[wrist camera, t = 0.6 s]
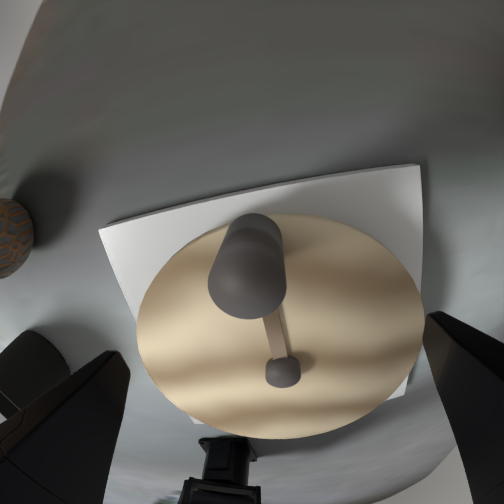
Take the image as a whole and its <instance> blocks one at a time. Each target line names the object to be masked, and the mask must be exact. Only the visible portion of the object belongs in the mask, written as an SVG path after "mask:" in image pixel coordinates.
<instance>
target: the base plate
mask: <svg viewBox="0 0 504 504" xmlns="http://www.w3.org/2000/svg"><path fill="white" fill-rule="evenodd" d="M249 213H258V214H262V215H266V214H274V213H300V214H308V215H314V216H321V217H326V218H329V219H333V220H336V221H340V222H343V223H346V224H348V225H351V226H353V227H355V228H357V229H359V230H361V231H363V232H365V233H367V234H368V235H370V236H371V237H373V238H374V239H376V240H377V241H379V242H380V243H382V244H383V245H384V246H385V247H386V248H387V249H388V250H389V251H390V252H391V253H392V254H393V255H395V257H396V258H397V259H398V260H399V261H400V262H401V263H402V264H403V266H404V267H405V269H406V270H407V271H408V273H409V274H410V275H411V277H412V278H413V280H414V282H415V284H416V287H417V289H418V291H419V293H420V292H421V278H422V258H423V208H422V188H421V174H420V165H416V164H413V163H410V164H401V165H392V166H384V167H376V168H369V169H362V170H355V171H348V172H341V173H335V174H329V175H322V176H316V177H310V178H305V179H299V180H293V181H288V182H283V183H277V184H272V185H267V186H262V187H257V188H252V189H247V190H242V191H238V192H233V193H228V194H224V195H219V196H215V197H211V198H206V199H202V200H198V201H193V202H189V203H185V204H181V205H177V206H173V207H169V208H165V209H161V210H157V211H154V212H150V213H146V214H142V215H139V216H135V217H131V218H128V219H124V220H121V221H117V222H114V223H110V224H107V225H105V226H103V227H102V228H100V229H99V230H98V231H99V234H100V236H101V239H102V242H103V245H104V247H105V250H106V253H107V255H108V258H109V260H110V263H111V265H112V268H113V270H114V273H115V275H116V278H117V280H118V282H119V285H120V287H121V289H122V292H123V294H124V296H125V298H126V301H127V303H128V305H129V307H130V309H131V311H132V314H133V316H134V318H135V320H136V322H137V319H138V313H139V308H140V305H141V303H142V300H143V298H144V295H145V293H146V291H147V289H148V288H149V286H150V284H151V283H152V281H153V279H154V278H155V276H156V275H157V274H158V272H159V271H160V270H161V268H162V267H163V266H164V265H165V264H166V263H167V261H168V260H169V259H170V258H171V257H172V256H173V255H174V254H175V253H176V252H178V251H179V250H180V249H181V248H182V247H184V246H185V245H186V244H187V243H188V242H190V241H192V240H193V239H195V238H197V237H198V236H200V235H202V234H203V233H205V232H207V231H209V230H211V229H214V228H216V227H219V226H221V225H223V224H226V223H228V222H232V221H234V220H235V219H236V218H238V217H240V216H242V215H244V214H249ZM408 375H409V374H408ZM407 380H408V376H407V377H406V378H405V380H404V381H403V382H402V384H401V385H400V386H399V387H398V389H397V390H396V391H395V392H394V393H393V394H392V395H391V396H390V397H389V398H388V399H386V400H389V399H393V398H396V397H400V396H403V395H404V393H405V389H406V385H407ZM189 416H190V415H189ZM190 418H191V419H192V421H193V422H194V424H205V423H202V422H200V421H199V420H197V419H195V418H193V417H191V416H190Z"/></svg>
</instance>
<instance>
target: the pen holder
mask: <svg viewBox="0 0 504 504" xmlns="http://www.w3.org/2000/svg"><path fill="white" fill-rule="evenodd" d="M68 377H69V369H68V366H67V364H66V362H65V360H64V358H63V357H62V356H61V354H60V353H59V352H58V350H57V349H56V348H55V347H54V346H53V345H52V344H51V343H50V342H49V341H47V340H46V339H45V338H43V337H42V336H40V335H39V334H37V333H34V332H27V331H26V332H23V333H21V334H20V335H19V336H18V337H17V338H16V339H15V340H14V341H13V342H12V343H10V344H9V345H8V346H7V347H6V348H5V349H4V350H3V351H2V352H1V353H0V413H1V414H2V415H3V416H4V417H5V418H6V419H9V418H10V417H12V416H13V415H15V414H16V413H18V412H19V411H21V410H22V409H23V408H25V407H27V406H28V405H29V404H31V403H32V402H34V401H35V400H36V399H38V398H39V397H41V396H42V395H43V394H45V393H46V392H48V391H49V390H51V389H52V388H53V387H55V386H56V385H58V384H59V383H61V382H62V381H63V380H65V379H66V378H68Z"/></svg>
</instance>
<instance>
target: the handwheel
mask: <svg viewBox="0 0 504 504" xmlns="http://www.w3.org/2000/svg"><path fill="white" fill-rule="evenodd" d="M424 325H425V320H424V308H423V304H422V300H421V297H420V293H419V291H418V289H417V287H416V284H415V282H414V280H413V278H412V277H411V275H410V274H409V273H408V271H407V270H406V269H405V267H404V266H403V264H402V263H401V262H400V261H399V260H398V259H397V258H396V257H395V255H393V254H392V253H391V252H390V251H389V250H388V249H387V248H386V247H385V246H384V245H383V244H382V243H380V242H379V241H377V240H376V239H374V238H373V237H371V236H370V235H368V234H367V233H365V232H363V231H361V230H359V229H357V228H355V227H353V226H351V225H348V224H346V223H343V222H340V221H336V220H333V219H329V218H326V217H321V216H314V215H308V214H300V213H274V214H266V215H262V214H258V213H249V214H244V215H242V216H240V217H238V218H236V219H235V220H234V221H232V222H228V223H226V224H223V225H221V226H219V227H216V228H214V229H211V230H209V231H207V232H205V233H203V234H202V235H200V236H198V237H197V238H195V239H193V240H192V241H190V242H188V243H187V244H186V245H185V246H184V247H182V248H181V249H180V250H179V251H178V252H176V253H175V254H174V255H173V256H172V257H171V258H170V259H169V260H168V261H167V263H166V264H165V265H164V266H163V267H162V268H161V270H160V271H159V272H158V274H157V275H156V276H155V278H154V279H153V281H152V283H151V284H150V286H149V288H148V289H147V291H146V293H145V295H144V298H143V300H142V303H141V305H140V308H139V313H138V319H137V342H138V348H139V352H140V355H141V358H142V361H143V364H144V366H145V368H146V370H147V372H148V374H149V376H150V377H151V379H152V380H153V382H154V383H155V385H156V386H157V387H158V389H159V390H160V391H161V392H162V393H163V394H164V395H165V396H166V397H167V398H168V399H169V400H170V401H171V402H172V403H173V404H174V405H176V406H177V407H178V408H180V409H181V410H182V411H184V412H185V413H187V414H188V415H190V416H191V417H193V418H195V419H197V420H199V421H200V422H202V423H205V424H207V425H209V426H211V427H214V428H217V429H219V430H222V431H225V432H229V433H233V434H237V435H241V436H246V437H253V438H262V439H291V438H301V437H307V436H313V435H317V434H321V433H325V432H328V431H331V430H334V429H337V428H340V427H342V426H345V425H347V424H349V423H352V422H354V421H356V420H357V419H359V418H361V417H363V416H365V415H366V414H368V413H369V412H371V411H372V410H374V409H375V408H377V407H378V406H379V405H381V404H382V403H383V402H384V401H385V400H386V399H388V398H389V397H390V396H391V395H392V394H393V393H394V392H395V391H396V390H397V389H398V387H399V386H400V385H401V384H402V382H403V381H404V380H405V378H406V377H407V376H408V374H409V372H410V371H411V369H412V367H413V366H414V364H415V362H416V359H417V357H418V354H419V352H420V349H421V345H422V336H423V331H424Z"/></svg>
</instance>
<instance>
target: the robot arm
mask: <svg viewBox="0 0 504 504" xmlns="http://www.w3.org/2000/svg"><path fill="white" fill-rule="evenodd" d="M422 341H423V346H424V349H425V352H426V355H427V358H428V361H429V365H430V368H431V371H432V375H433V378H434V382H435V385H436V388H437V390H438V393H439V396H440V398H441V401H442V403H443V406H444V409H445V411H446V414H447V417H448V419H449V422H450V425H451V428H452V431H453V433H454V436H455V439H456V442H457V445H458V449H459V452H460V455H461V458H462V462H463V465H464V468H465V472H466V476H467V480H468V483H469V487H470V492H471V496H472V500H473V502H474V503H473V504H504V343H502V342H500V341H498V340H497V339H495V338H493V337H491V336H489V335H487V334H485V333H483V332H481V331H479V330H477V329H475V328H474V327H472V326H470V325H468V324H466V323H464V322H462V321H460V320H458V319H456V318H454V317H452V316H450V315H448V314H446V313H444V312H442V311H436V312H432V313H429V314H428V315H427V316H426V320H425V325H424V331H423V336H422ZM129 381H130V369H129V367H128V366H127V364H126V362H125V360H124V359H123V357H122V355H121V354H120V352H118V351H116V350H107V351H105V352H103V353H102V354H100V355H99V356H98V357H96V358H95V359H93V360H92V361H90V362H89V363H88V364H86V365H85V366H83V367H82V368H80V369H79V370H78V371H76V372H75V373H73V374H72V375H70V376H69V377H68V378H66V379H65V380H63V381H62V382H61V383H59V384H58V385H56V386H55V387H53V388H52V389H51V390H49V391H48V392H46V393H45V394H43V395H42V396H41V397H39V398H38V399H36V400H35V401H34V402H32V403H31V404H29V405H28V406H27V407H25V408H23V409H22V410H21V411H19V412H18V413H16V414H15V415H13V416H12V417H10V418H9V419H7V420H6V421H4V422H2V423H1V424H0V504H103V499H104V494H105V489H106V484H107V480H108V475H109V471H110V466H111V462H112V458H113V454H114V450H115V446H116V442H117V438H118V434H119V430H120V426H121V423H122V419H123V414H124V409H125V403H126V397H127V392H128V387H129ZM198 443H199V444H200V446H201V447H202V448H203V450H204V451H205V452H206V458H205V463H204V469H203V474H202V480H201V479H196V478H194V477H189V479H188V480H185V481H184V485H183V489H182V493H181V495H180V498H179V501H178V503H177V504H261V486H248V475H249V463H250V462H255V461H257V456H256V455H255V453H254V451H253V449H252V447H251V445H250V443H249V441H248V440H247V439H199V441H198Z"/></svg>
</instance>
